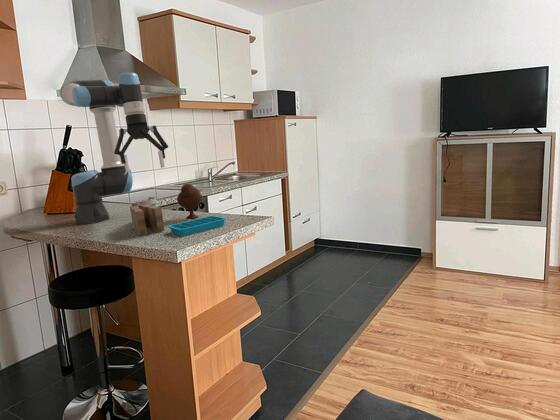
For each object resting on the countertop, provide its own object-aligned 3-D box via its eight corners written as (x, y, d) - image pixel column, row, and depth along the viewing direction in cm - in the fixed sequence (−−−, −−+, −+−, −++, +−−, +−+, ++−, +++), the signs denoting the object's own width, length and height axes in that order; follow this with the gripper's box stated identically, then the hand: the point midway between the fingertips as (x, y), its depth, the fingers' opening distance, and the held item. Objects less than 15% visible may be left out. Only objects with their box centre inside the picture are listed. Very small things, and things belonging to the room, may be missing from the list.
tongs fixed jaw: (132, 227, 177) (128, 204, 176) (142, 225, 179) (139, 202, 177) (140, 236, 159) (136, 210, 157) (152, 234, 161) (148, 208, 159)
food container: (151, 224, 180) (148, 201, 178) (138, 225, 181) (134, 202, 179) (164, 218, 192) (161, 196, 190) (152, 218, 193) (149, 197, 191)
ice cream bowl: (174, 221, 183) (169, 186, 180) (190, 215, 192) (185, 182, 190) (194, 221, 178) (189, 185, 175) (209, 215, 188) (205, 181, 185)
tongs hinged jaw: (141, 226, 176) (138, 205, 174) (147, 225, 177) (144, 204, 175) (158, 231, 163) (154, 208, 161) (164, 230, 164) (161, 207, 162)
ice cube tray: (228, 225, 165) (227, 218, 165) (181, 238, 152) (180, 229, 152) (213, 222, 174) (212, 215, 173) (167, 233, 161) (166, 226, 161)
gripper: (102, 115, 153) (114, 173, 155) (169, 110, 166) (179, 164, 168) (99, 118, 160) (110, 174, 162) (164, 114, 173) (173, 166, 175)
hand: (145, 169), depth 165 cm, fingers open, 13 cm apart
